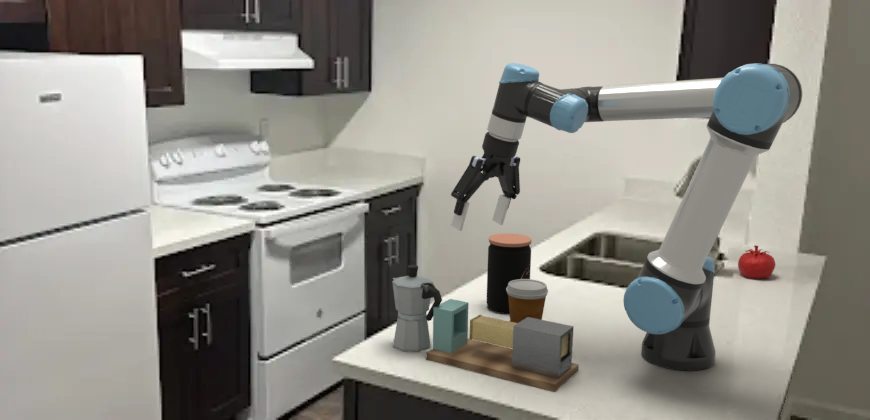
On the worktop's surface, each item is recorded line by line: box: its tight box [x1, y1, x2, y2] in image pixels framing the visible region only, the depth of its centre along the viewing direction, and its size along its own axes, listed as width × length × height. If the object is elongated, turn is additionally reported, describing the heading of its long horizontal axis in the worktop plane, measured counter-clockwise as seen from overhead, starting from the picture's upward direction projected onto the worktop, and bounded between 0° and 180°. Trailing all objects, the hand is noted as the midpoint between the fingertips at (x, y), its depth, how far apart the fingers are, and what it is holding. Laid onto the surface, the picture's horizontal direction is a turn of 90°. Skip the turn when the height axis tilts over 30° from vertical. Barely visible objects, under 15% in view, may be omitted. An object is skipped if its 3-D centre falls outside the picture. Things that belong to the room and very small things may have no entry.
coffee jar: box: [486, 233, 532, 315], centre depth 202 cm, size 11×11×18 cm
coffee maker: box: [392, 264, 443, 353], centre depth 175 cm, size 15×9×18 cm, turn 45°
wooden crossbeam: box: [469, 314, 568, 358], centre depth 164 cm, size 20×4×4 cm, turn 59°
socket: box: [432, 298, 470, 353], centre depth 172 cm, size 4×7×9 cm, turn 149°
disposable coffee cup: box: [506, 278, 549, 323], centre depth 184 cm, size 10×10×12 cm
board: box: [425, 338, 579, 393], centre depth 167 cm, size 29×12×2 cm, turn 59°
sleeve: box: [512, 317, 574, 379], centre depth 162 cm, size 10×7×9 cm, turn 59°
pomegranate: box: [737, 244, 776, 280], centre depth 235 cm, size 10×10×9 cm
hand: (477, 225), depth 181 cm, fingers open, 13 cm apart
